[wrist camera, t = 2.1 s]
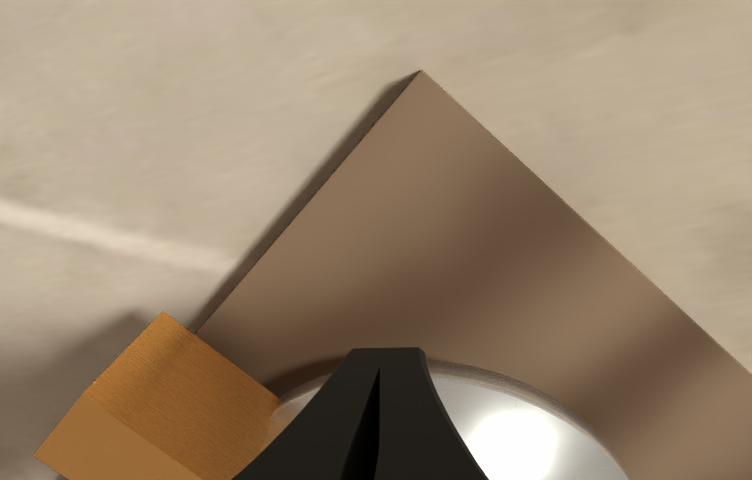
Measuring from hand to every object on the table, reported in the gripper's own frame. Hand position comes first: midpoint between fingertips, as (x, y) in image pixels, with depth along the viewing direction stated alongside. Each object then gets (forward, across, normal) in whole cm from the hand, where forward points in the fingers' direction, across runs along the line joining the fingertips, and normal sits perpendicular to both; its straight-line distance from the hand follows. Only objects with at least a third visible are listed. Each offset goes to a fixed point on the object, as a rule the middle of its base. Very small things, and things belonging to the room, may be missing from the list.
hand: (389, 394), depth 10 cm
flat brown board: (+7, 0, +10) cm, 12 cm away
